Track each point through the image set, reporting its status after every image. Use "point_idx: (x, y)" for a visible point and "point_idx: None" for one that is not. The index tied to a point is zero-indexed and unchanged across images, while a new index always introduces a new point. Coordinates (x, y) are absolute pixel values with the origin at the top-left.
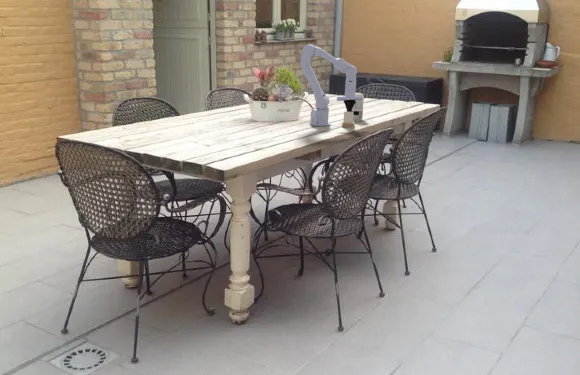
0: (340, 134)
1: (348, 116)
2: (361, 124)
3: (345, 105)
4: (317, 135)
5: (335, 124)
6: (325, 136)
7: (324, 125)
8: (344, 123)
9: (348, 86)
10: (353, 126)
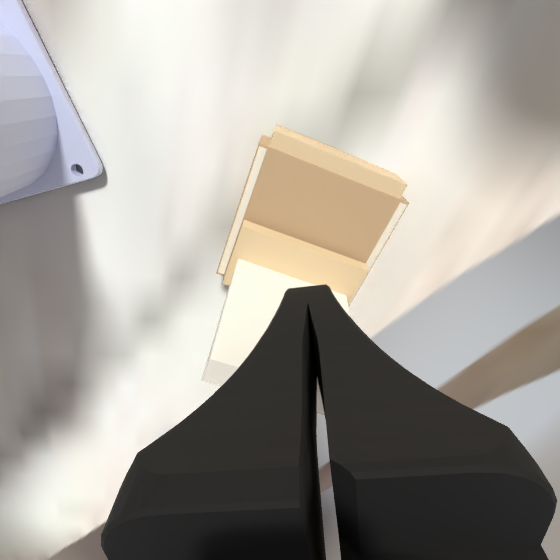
0: None
1: None
2: (555, 81)
3: (227, 390)
4: (15, 489)
5: (171, 76)
6: (66, 507)
7: (21, 197)
8: None
9: None
10: None
